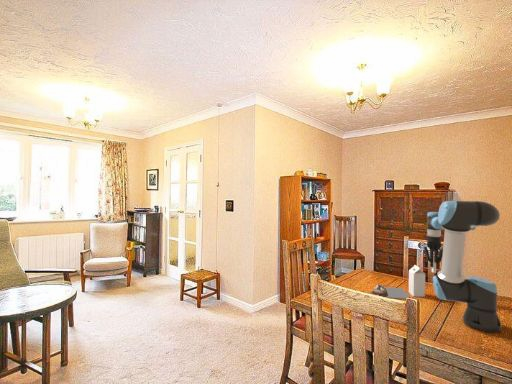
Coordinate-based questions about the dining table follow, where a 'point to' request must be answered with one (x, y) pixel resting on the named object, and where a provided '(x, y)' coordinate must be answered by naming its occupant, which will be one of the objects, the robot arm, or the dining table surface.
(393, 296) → the mat
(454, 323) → the dining table surface
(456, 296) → the robot arm
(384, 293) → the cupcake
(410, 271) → the milk carton
